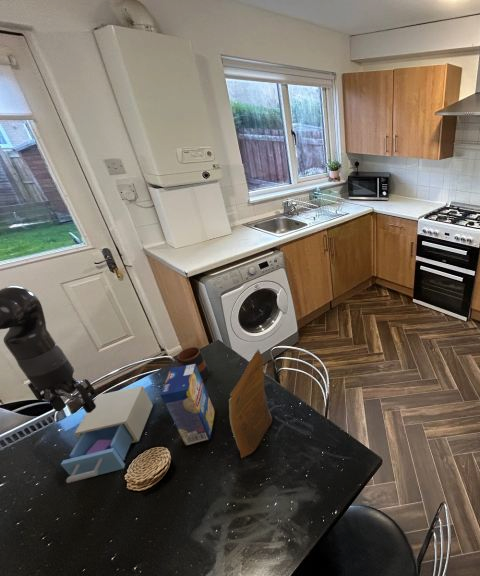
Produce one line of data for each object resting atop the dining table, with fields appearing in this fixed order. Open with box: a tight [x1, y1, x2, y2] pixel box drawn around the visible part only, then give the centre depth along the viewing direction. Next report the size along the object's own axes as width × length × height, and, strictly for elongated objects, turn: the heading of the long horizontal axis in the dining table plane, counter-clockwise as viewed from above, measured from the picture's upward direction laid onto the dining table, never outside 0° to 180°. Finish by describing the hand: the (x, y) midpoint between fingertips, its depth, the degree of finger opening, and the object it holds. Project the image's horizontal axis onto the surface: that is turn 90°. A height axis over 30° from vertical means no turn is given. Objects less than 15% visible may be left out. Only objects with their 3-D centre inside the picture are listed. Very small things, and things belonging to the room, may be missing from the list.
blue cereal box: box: [159, 363, 216, 446], centre depth 95 cm, size 7×11×22 cm, turn 19°
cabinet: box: [74, 385, 154, 444], centre depth 98 cm, size 15×13×10 cm
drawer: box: [60, 424, 133, 484], centre depth 88 cm, size 18×11×8 cm, turn 18°
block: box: [86, 440, 112, 455], centre depth 89 cm, size 4×4×4 cm
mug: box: [174, 346, 210, 382], centre depth 116 cm, size 9×12×12 cm
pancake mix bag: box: [228, 348, 273, 459], centre depth 92 cm, size 7×19×28 cm, turn 169°
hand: (76, 409), depth 84 cm, fingers open, 8 cm apart
